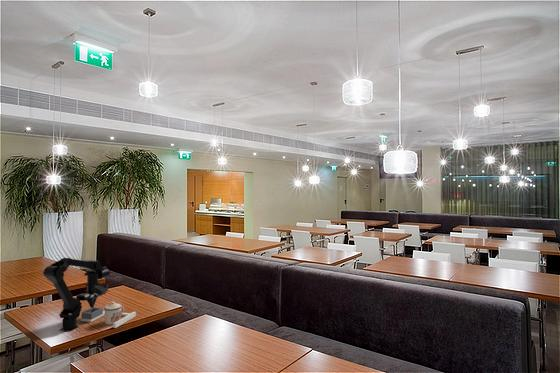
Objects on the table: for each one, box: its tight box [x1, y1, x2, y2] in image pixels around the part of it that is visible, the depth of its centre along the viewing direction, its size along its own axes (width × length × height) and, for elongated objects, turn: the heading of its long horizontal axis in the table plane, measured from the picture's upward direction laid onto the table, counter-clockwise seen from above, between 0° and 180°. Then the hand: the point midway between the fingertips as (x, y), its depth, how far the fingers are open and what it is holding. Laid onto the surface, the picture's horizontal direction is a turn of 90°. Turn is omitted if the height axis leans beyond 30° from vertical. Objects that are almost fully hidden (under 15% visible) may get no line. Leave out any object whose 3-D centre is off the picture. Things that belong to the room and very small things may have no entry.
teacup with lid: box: [103, 301, 125, 326], centre depth 195 cm, size 12×9×12 cm
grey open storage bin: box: [80, 306, 137, 329], centre depth 196 cm, size 18×26×5 cm
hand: (92, 307), depth 198 cm, fingers closed
